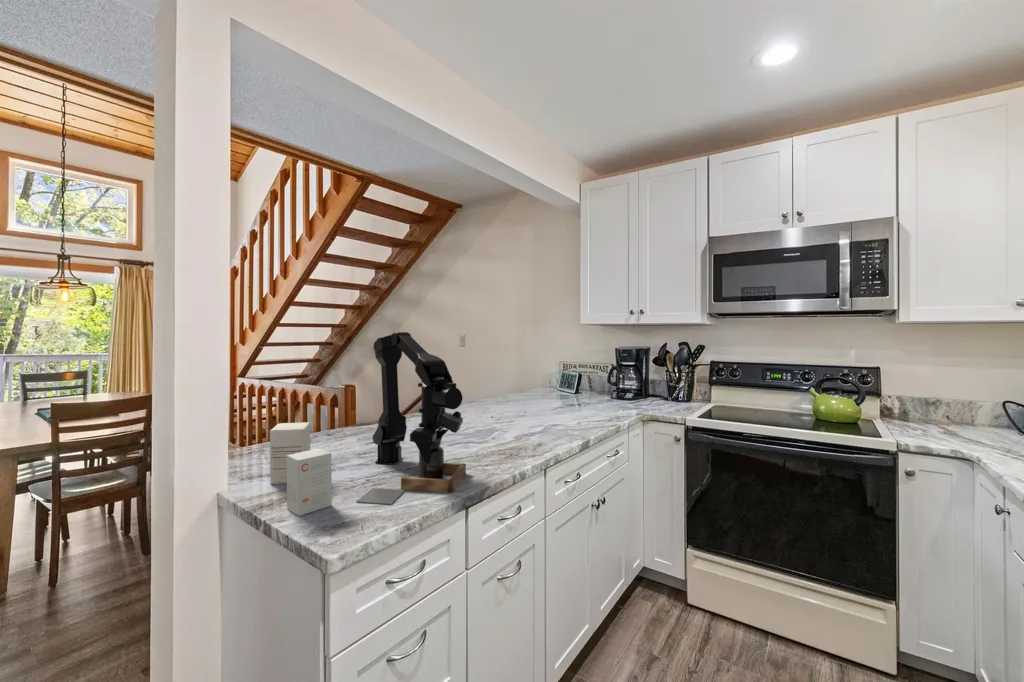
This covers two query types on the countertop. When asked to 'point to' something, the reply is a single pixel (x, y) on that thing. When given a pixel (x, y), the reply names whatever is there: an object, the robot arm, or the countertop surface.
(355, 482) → the countertop surface
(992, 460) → the countertop surface
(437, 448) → the supplement bottle
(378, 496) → the slate mat
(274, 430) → the supplement box
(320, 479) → the small box
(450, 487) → the frame
